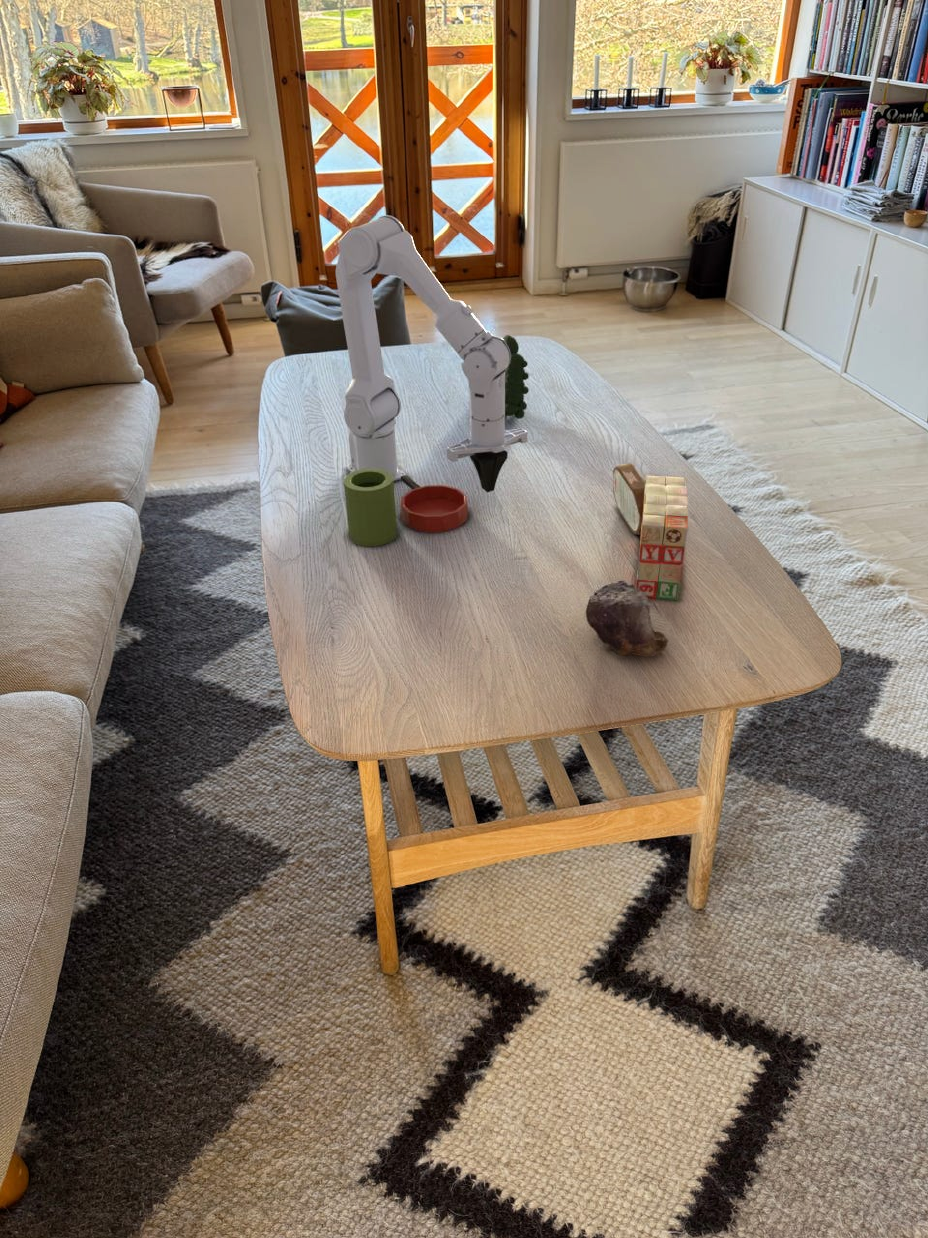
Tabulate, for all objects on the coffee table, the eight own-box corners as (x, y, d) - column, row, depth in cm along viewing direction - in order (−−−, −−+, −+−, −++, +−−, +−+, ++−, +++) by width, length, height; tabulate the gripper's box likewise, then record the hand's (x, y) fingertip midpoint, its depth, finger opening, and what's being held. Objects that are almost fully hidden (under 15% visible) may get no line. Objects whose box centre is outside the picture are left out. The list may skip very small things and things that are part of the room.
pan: (479, 521, 157) (479, 505, 156) (421, 538, 153) (420, 522, 151) (431, 481, 169) (431, 466, 168) (376, 497, 165) (375, 481, 163)
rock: (636, 623, 134) (570, 635, 132) (638, 568, 131) (571, 579, 128) (676, 659, 124) (606, 673, 122) (679, 601, 121) (607, 614, 118)
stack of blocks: (641, 525, 155) (647, 456, 148) (679, 528, 154) (688, 459, 147) (634, 597, 138) (641, 523, 131) (678, 601, 137) (688, 526, 130)
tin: (654, 542, 150) (658, 495, 145) (635, 544, 150) (639, 497, 145) (626, 498, 162) (629, 453, 157) (608, 500, 162) (610, 456, 157)
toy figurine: (538, 434, 189) (497, 380, 207) (543, 344, 176) (499, 295, 195) (493, 441, 186) (456, 386, 205) (496, 351, 174) (456, 301, 192)
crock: (341, 530, 156) (335, 475, 150) (384, 518, 159) (379, 464, 153) (361, 551, 150) (356, 495, 144) (405, 538, 153) (401, 482, 148)
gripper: (460, 433, 148) (462, 509, 156) (537, 413, 154) (536, 487, 162) (439, 417, 153) (442, 492, 161) (514, 399, 159) (514, 472, 167)
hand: (487, 489), depth 162 cm, fingers closed
